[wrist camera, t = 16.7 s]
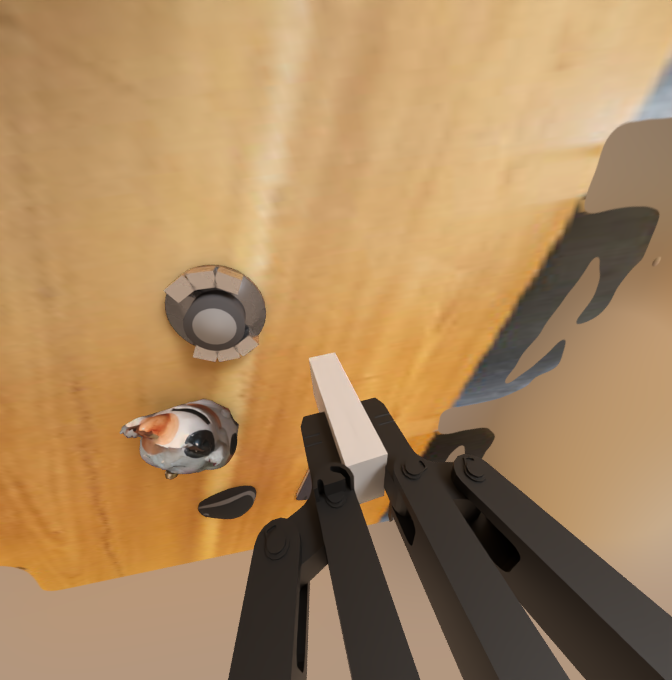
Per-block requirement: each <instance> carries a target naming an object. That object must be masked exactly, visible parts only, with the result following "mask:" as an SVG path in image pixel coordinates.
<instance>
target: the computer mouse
mask: <svg viewBox="0 0 672 680" xmlns="http://www.w3.org/2000/svg"><path fill="white" fill-rule="evenodd" d="M255 497H256V490H255V488H254V487H252V486H239V487H234V488H231V489H227V490H225V491H222V492H220V493H217V494H215V495H213V496H211V497H209V498H207V499H205V500H203V501H202V502H200V504H199V507H198V510H199V512H200V513H201V514H202V515H203V516H205V517H211V518H219V519H233V518H237V517H240V516H242V515H243V514H245V513H246V512H247V511H248V510H249V509H250V508H251V507H252V505H253V503H254V500H255Z"/></svg>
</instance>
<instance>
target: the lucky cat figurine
mask: <svg viewBox="0 0 672 680" xmlns="http://www.w3.org/2000/svg"><path fill="white" fill-rule="evenodd" d="M238 426H239V424H238V423H237V422H235V421H234V419H233V417H232V415H231V413H230V410H229V409H228V408H225V407H223V406H221V405H219V404H216V403H215V402H213V401H210V400H206V399H202V400H199V401H194V402H188V403H186V404H182V405H178V406H175V407H172V408H169V409H167V410H164V411H161V412H158V413H154V414H151V415H148V416H143V417H138V418H136V419H134V420H133V421H131V422H129V423H127V424H125V425H124V426H123V427H122V429H121V431H120V434H122V433H123V434H124V435H125V436H126V437H127V438H130V437H133V438H136V437H141V440H140V455H141V457H142V459H143V460H145V461H146V462H147V463H148V464H150V465H152V466H155V467H158V468H161V469H162V470H166V472H165V476H166V478H167V479H173V478H175V477H176V476H177V475H178V474H191V473H196V472H201V471H203V470H214V469H218V468H221V467H223V466H224V465H226V464H227V463H228V462H229V461H230V459H231V458H232V456H233V454H234V453H235V450H236V446H237V433H238Z"/></svg>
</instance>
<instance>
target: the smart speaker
mask: <svg viewBox="0 0 672 680" xmlns="http://www.w3.org/2000/svg"><path fill="white" fill-rule="evenodd" d="M245 320H246V313H245V309H244V307H243V305H242V303H241V302H240V301H239V300H238V299H237V298H236V297H235V296H233V295H232V294H230V293H227V292H224V291H220V290H211V291H207V292H204V293H202V294H200V295H198V296H197V297H196V298H195V299H194V301H193V302H192V304H191V306H190V307H189V309H188V311H187V312H186V314H185V316H184V319H183V328H184V331H185V333H186V335H187V337H188V338H189V339H190V340H191V341H192V342H193V343H194V344H196V345H197V346H199V347H201V348H203V349H207V350H212V351H221V350H226V349H229V348H232V347H233V346H235V345H236V344H238V343H239V342H240V340H241V339H242V337H243V335H244V331H245Z"/></svg>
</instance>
